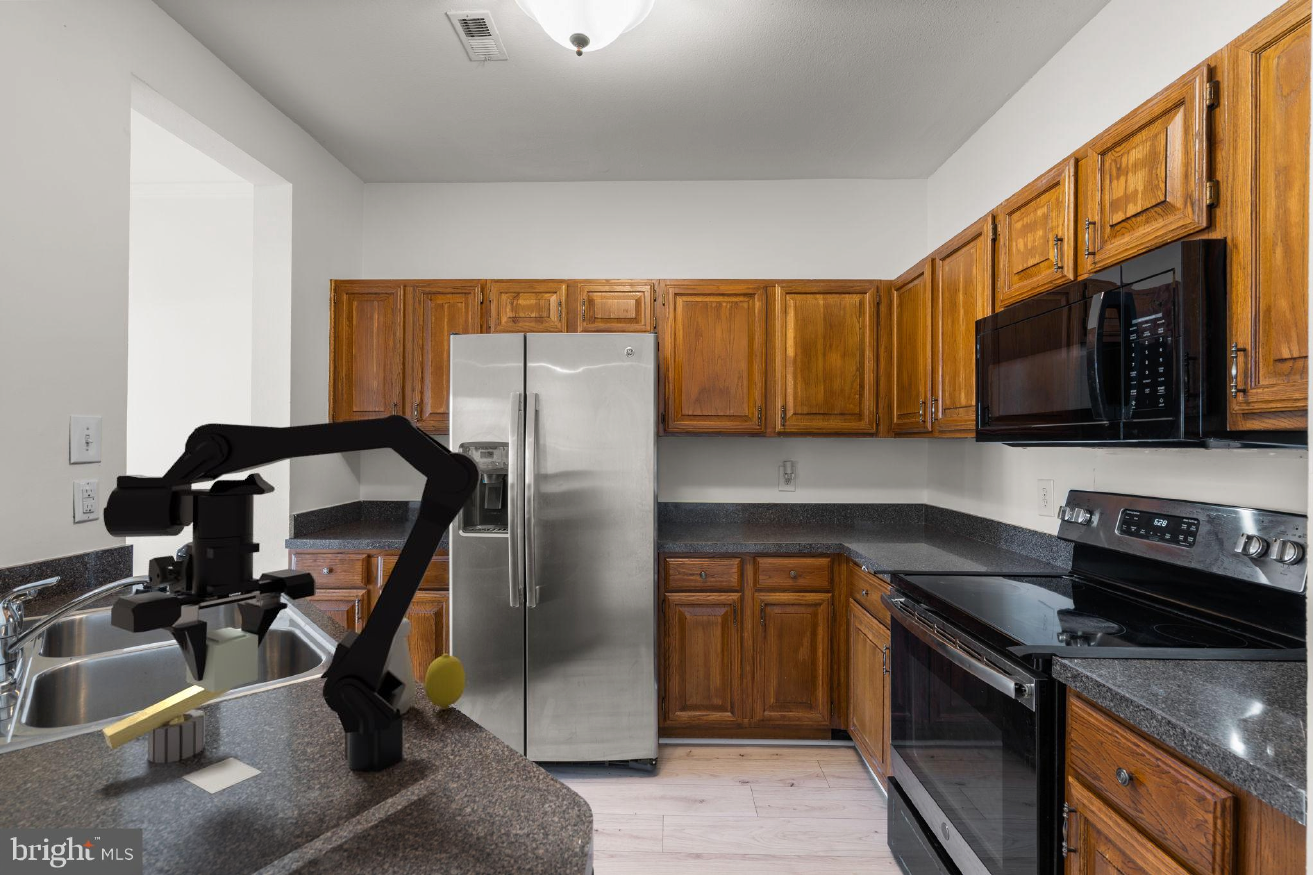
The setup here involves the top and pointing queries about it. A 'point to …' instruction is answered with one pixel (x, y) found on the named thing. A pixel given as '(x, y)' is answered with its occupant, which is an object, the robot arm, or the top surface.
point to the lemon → (445, 681)
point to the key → (158, 715)
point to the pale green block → (228, 660)
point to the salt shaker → (403, 665)
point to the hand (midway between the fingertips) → (222, 673)
